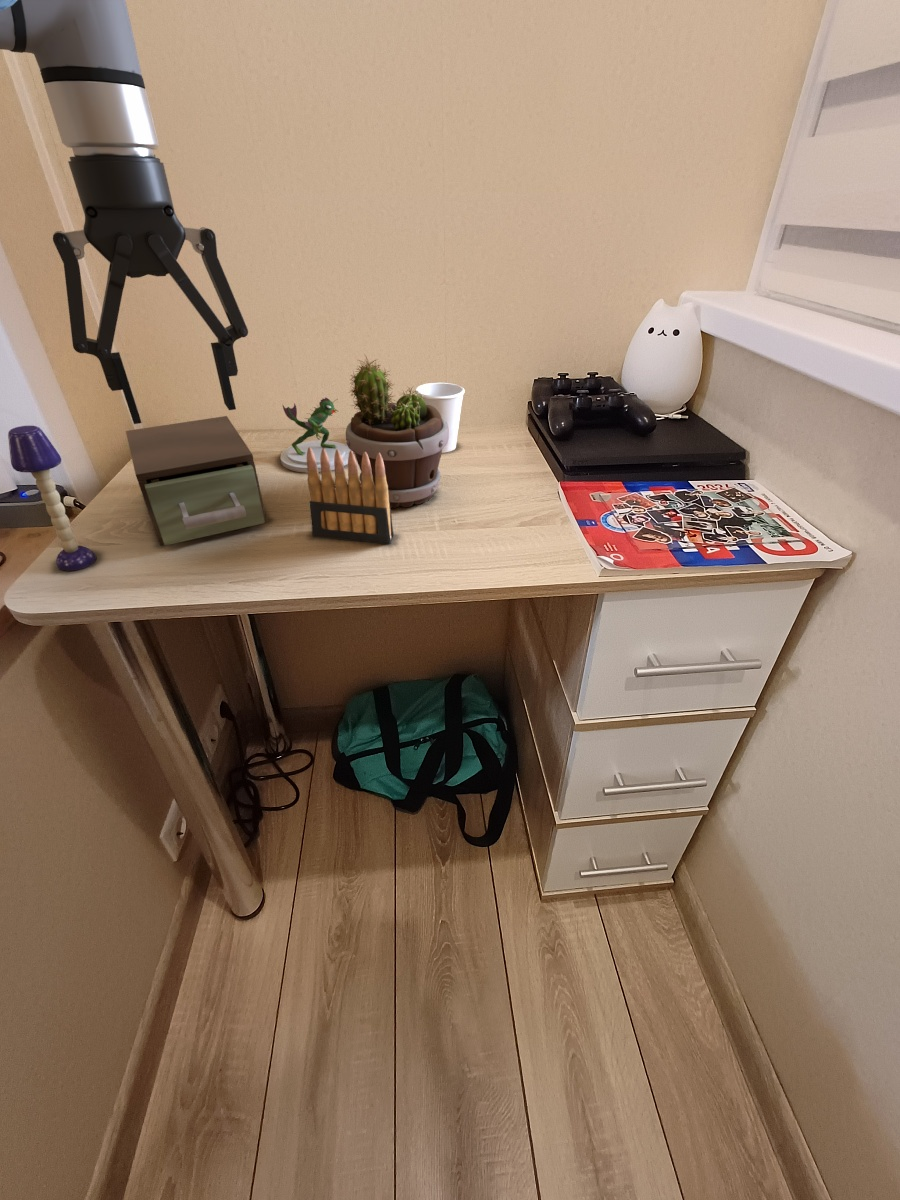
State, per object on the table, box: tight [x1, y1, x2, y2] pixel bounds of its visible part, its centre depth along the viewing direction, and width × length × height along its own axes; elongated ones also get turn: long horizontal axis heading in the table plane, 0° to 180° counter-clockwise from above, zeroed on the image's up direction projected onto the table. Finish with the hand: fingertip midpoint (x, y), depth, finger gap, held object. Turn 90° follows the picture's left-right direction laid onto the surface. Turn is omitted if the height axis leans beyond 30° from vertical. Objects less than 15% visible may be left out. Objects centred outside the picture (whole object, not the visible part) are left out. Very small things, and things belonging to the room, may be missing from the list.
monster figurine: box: [279, 397, 353, 474], centre depth 94 cm, size 12×12×10 cm
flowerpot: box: [345, 353, 449, 509], centre depth 81 cm, size 14×15×20 cm
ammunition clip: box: [307, 447, 395, 545], centre depth 72 cm, size 11×2×12 cm, turn 79°
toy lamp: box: [7, 425, 97, 572], centre depth 66 cm, size 5×5×17 cm
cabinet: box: [125, 415, 267, 546], centre depth 80 cm, size 17×14×10 cm
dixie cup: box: [414, 382, 465, 454], centre depth 99 cm, size 8×8×10 cm
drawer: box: [145, 463, 266, 546], centre depth 75 cm, size 22×13×8 cm, turn 28°
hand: (184, 412), depth 63 cm, fingers open, 9 cm apart
